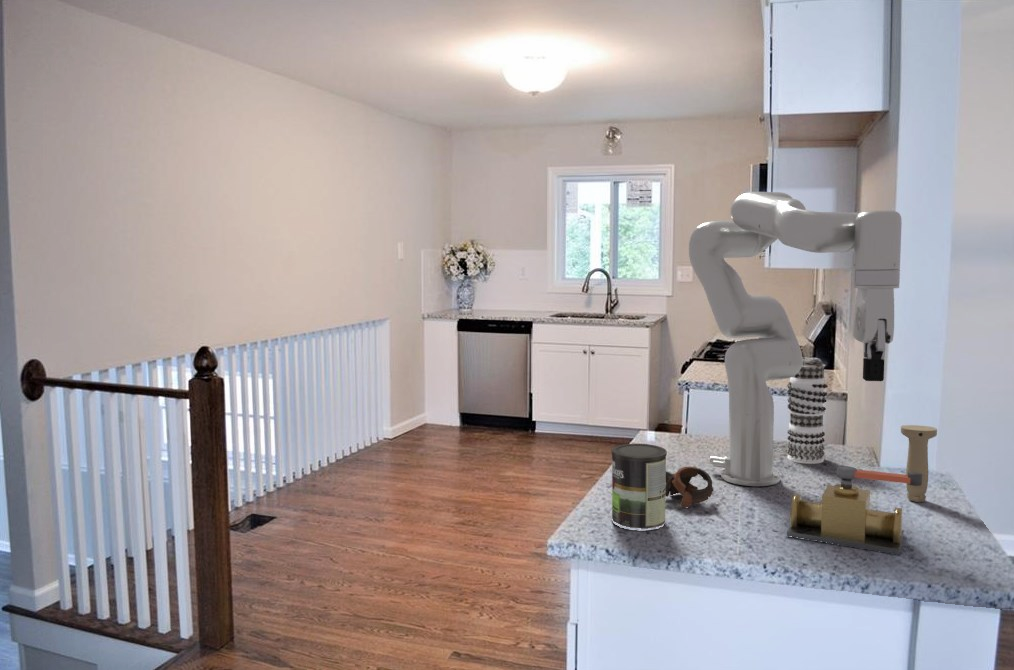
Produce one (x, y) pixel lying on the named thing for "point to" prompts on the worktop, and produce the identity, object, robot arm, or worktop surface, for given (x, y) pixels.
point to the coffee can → (638, 485)
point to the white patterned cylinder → (807, 413)
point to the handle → (918, 457)
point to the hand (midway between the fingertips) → (873, 380)
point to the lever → (879, 475)
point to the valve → (846, 520)
